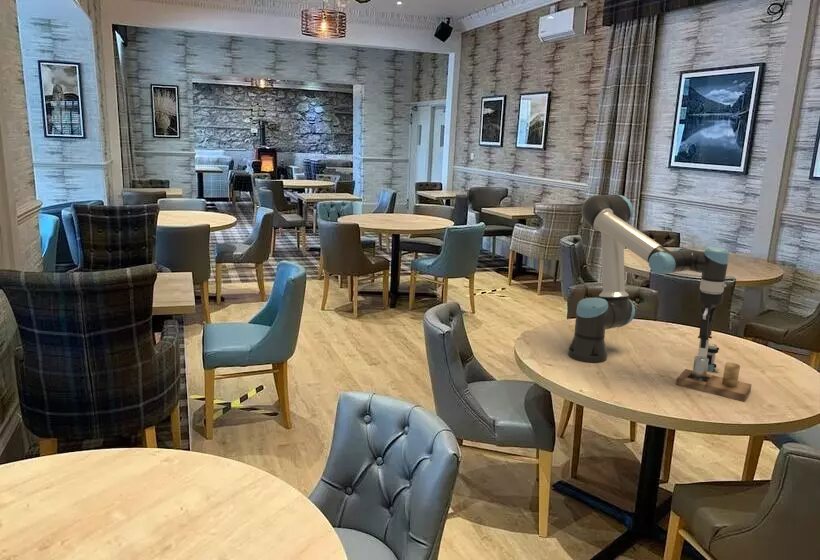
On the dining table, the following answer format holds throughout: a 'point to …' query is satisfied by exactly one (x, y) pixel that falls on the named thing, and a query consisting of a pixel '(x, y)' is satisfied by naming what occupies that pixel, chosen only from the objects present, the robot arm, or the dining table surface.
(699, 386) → the jig
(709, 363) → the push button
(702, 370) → the tan grey cylinder
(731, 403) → the dining table surface
